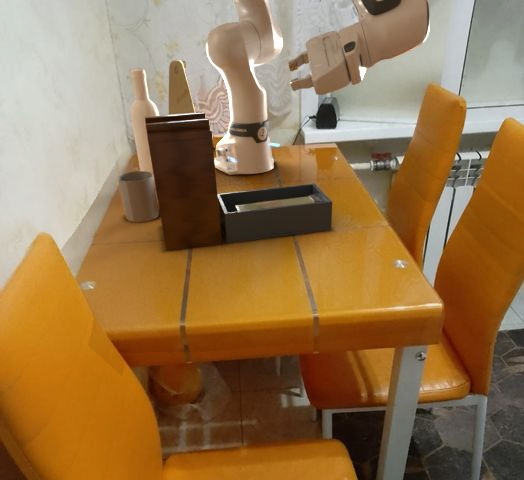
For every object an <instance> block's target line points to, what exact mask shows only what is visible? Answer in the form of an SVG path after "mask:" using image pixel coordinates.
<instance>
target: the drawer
mask: <svg viewBox="0 0 524 480" xmlns="http://www.w3.org/2000/svg"><path fill="white" fill-rule="evenodd" d="M315 202H323V201H322V200H321V199H320V198H319V196H318V195H317V194H314V195H309V196H308V197H299V198H291V199H283V200H274V201H266V202H258V203H250V204H242V205H235V209H236V211H244V210H253V209H262V208H271V207H280V206H289V205H297V204H306V203H315Z"/></svg>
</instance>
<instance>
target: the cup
mask: <svg viewBox="0 0 524 480" xmlns="http://www.w3.org/2000/svg"><path fill="white" fill-rule="evenodd" d="M117 180H118V186H119V190H120V194H121V200H122V206H123V208H124V214H125V218H126V220H127V221H130V222H133V223H143V222H150V221H152V220H155V219H157V218H158V217H160V210H159V204H158V198H157V192H156V189H155V185H154V179H153V174H152V173H150V172H146V171H140V170H136V171H128V172H126V173H122V174H120V175H119V176H118V178H117Z"/></svg>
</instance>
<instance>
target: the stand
mask: <svg viewBox="0 0 524 480" xmlns="http://www.w3.org/2000/svg"><path fill="white" fill-rule="evenodd" d="M145 122H146V131H147V138H148V144H149V150H150V156H151V162H152V168H153V174H154V180H155V186H156V189H155V191H156V197H157V203H158V209H159V217H160V221H161V228H162V235H163V240H164V247H165V252H166V251H167V252H168V251H175V250H176V251H177V250H184V249H193V248H200V247H209V246H217V245H218V246H219V245H222V244H223V239H222V228H221V226H220V216H219V205H218V195H217V194H218V186H217V185H218V184H217V174H216V168H215V162H214V158H215V153H214V149H213V147H214V143H213V140H212V131H211V129H210V125H209V119H206V118H205V113H204V112H202V113H189V114H177V115H169V114H167V115H159V116H153V117H145Z"/></svg>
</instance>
